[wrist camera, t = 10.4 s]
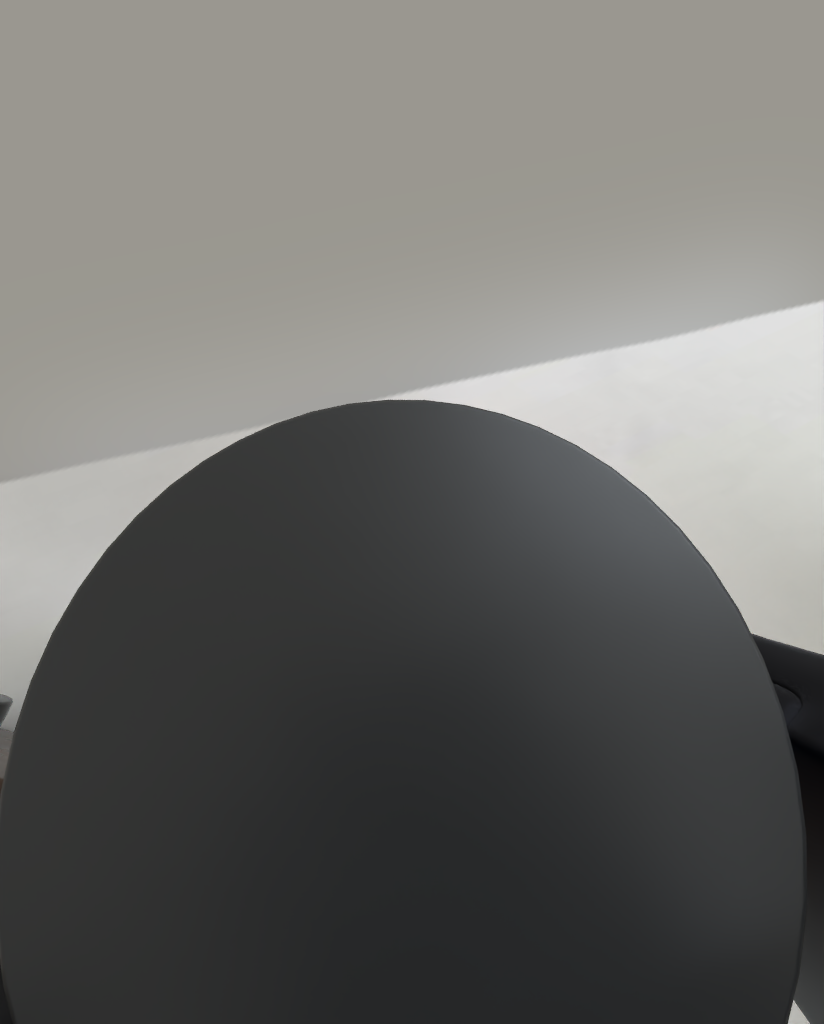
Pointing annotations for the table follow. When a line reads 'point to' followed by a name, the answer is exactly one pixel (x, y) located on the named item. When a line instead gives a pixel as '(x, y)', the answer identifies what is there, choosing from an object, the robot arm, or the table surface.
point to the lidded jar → (401, 751)
